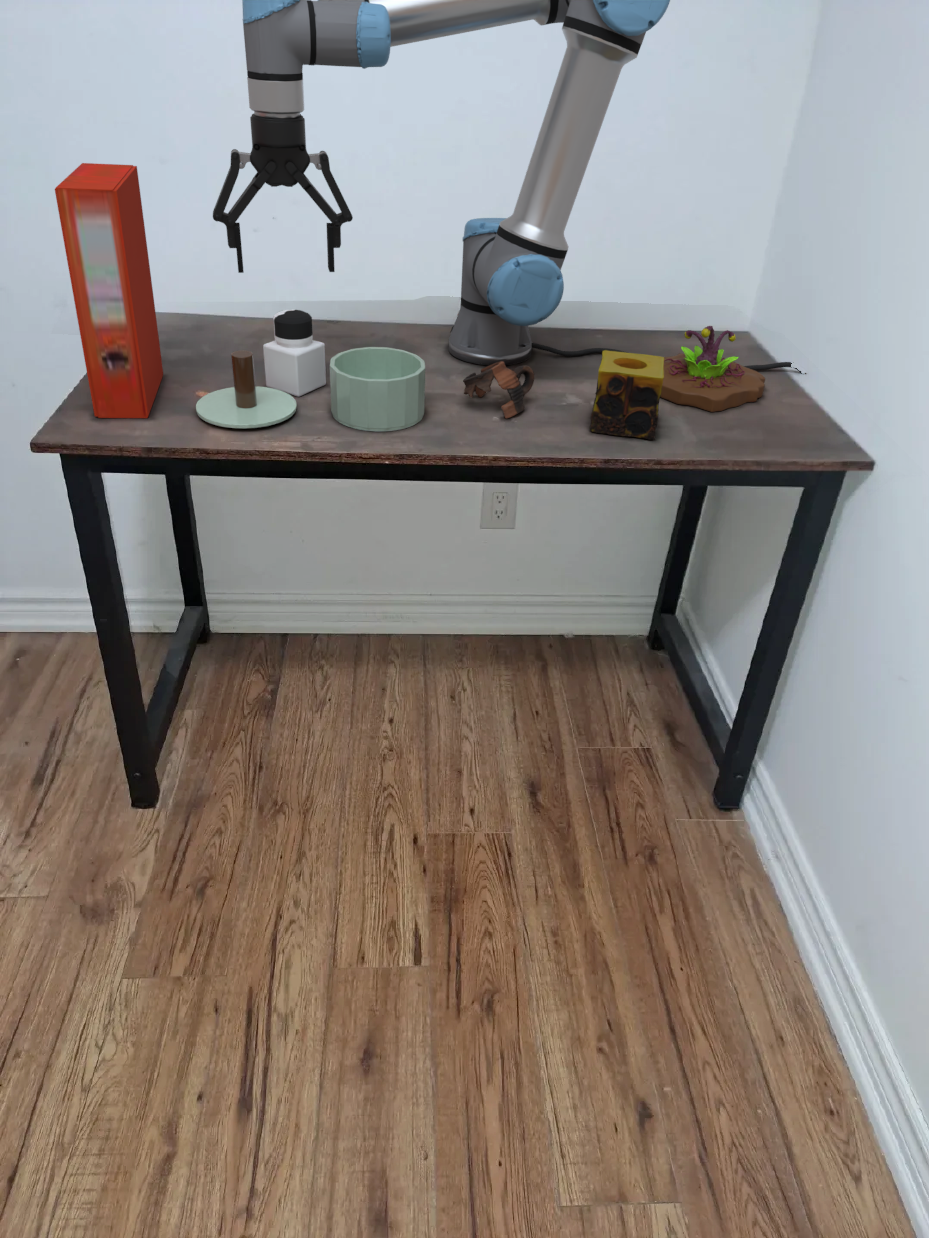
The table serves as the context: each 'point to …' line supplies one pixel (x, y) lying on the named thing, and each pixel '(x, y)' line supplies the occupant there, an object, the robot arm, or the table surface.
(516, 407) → the brown grey curved piece
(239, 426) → the basin lid
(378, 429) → the basin
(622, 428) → the yellow brown holed block
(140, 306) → the file binder
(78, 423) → the table surface
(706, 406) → the plant
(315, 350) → the medicine bottle
